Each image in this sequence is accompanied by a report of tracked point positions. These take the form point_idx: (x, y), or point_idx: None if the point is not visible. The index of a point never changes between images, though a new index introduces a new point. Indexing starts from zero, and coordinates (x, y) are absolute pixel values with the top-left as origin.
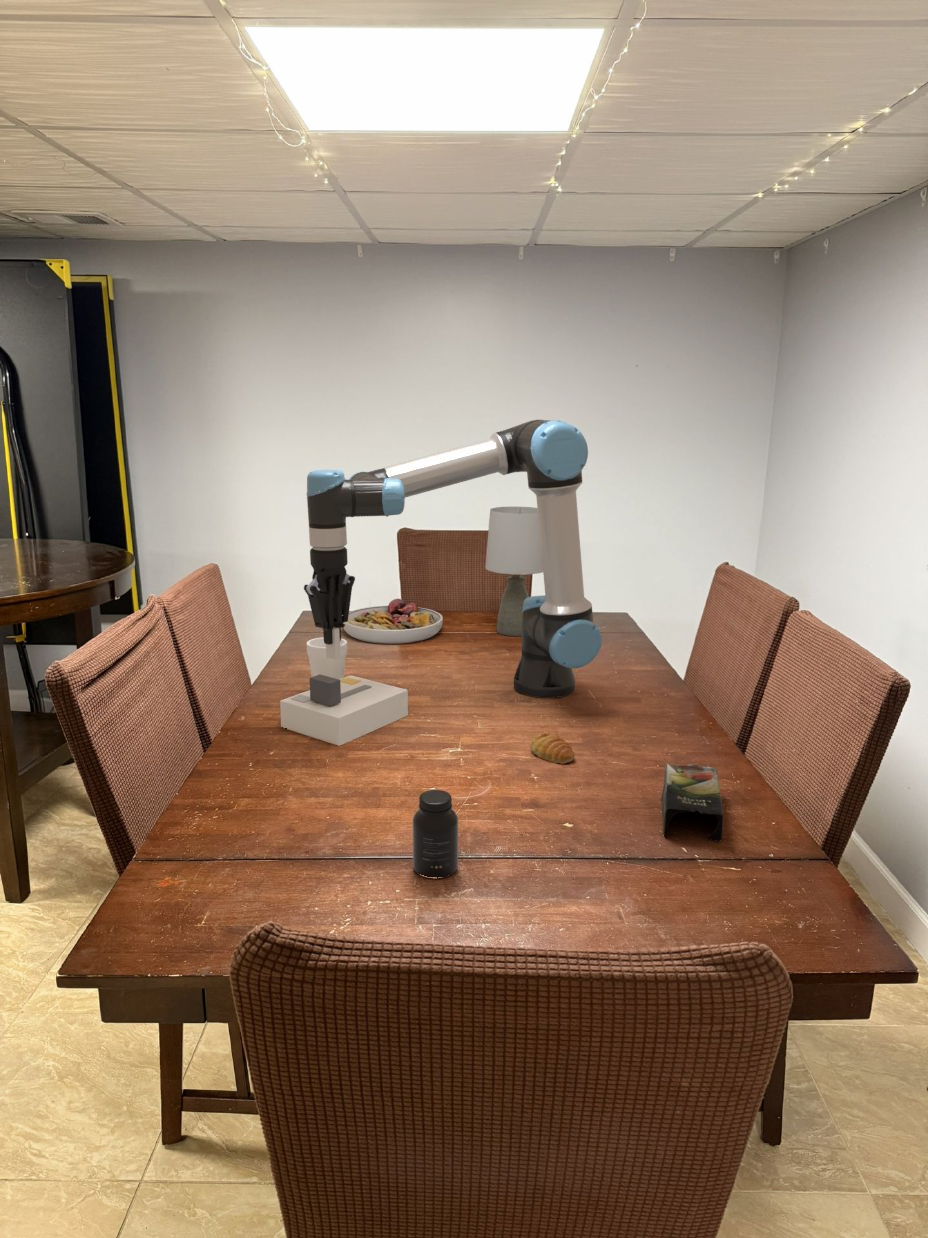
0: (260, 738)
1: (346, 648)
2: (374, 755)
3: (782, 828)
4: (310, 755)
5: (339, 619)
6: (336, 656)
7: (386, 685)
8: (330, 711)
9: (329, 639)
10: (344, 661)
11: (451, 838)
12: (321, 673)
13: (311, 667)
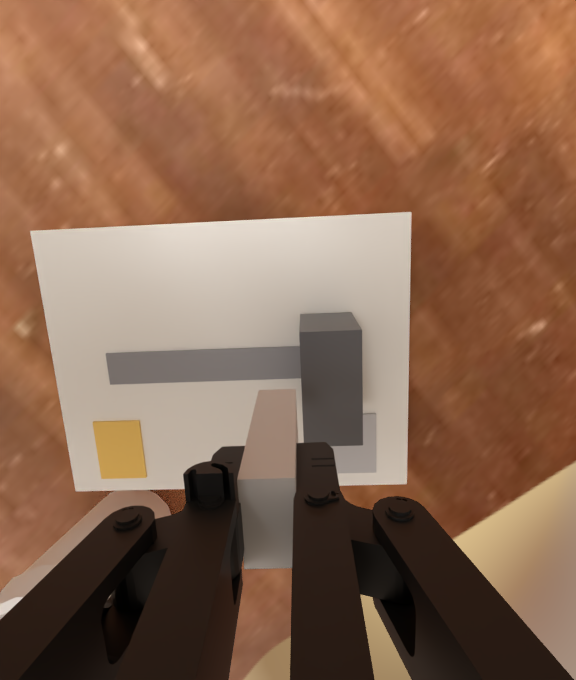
0: (480, 424)
1: (8, 588)
2: (379, 77)
3: None
4: (491, 230)
5: (210, 531)
6: (288, 393)
7: (55, 326)
8: (379, 284)
9: (325, 459)
10: (49, 553)
11: None
12: None
13: None
